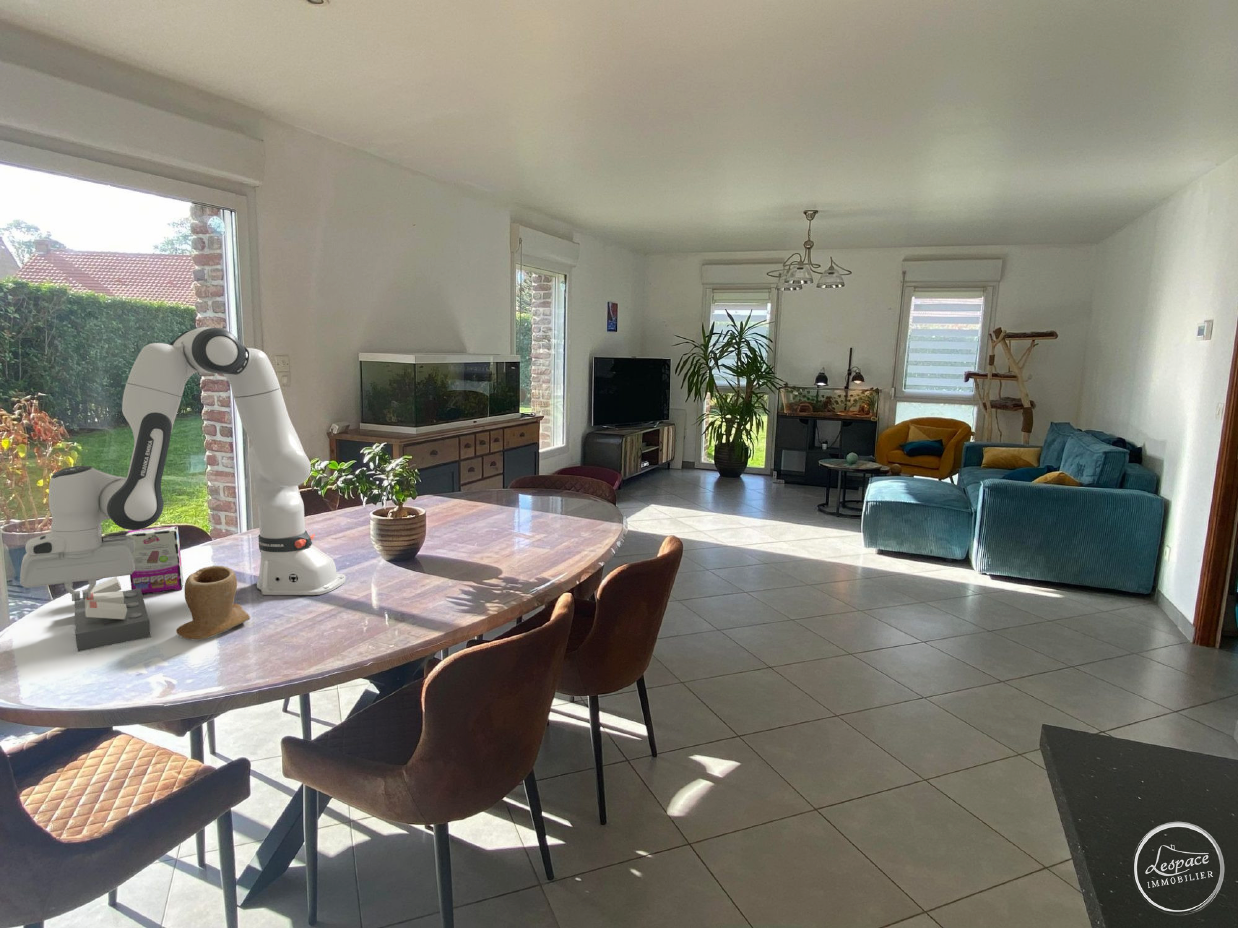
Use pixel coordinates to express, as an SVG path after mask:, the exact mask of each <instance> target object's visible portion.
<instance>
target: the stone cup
mask: <svg viewBox="0 0 1238 928" xmlns="http://www.w3.org/2000/svg"><path fill="white" fill-rule="evenodd" d="M237 587H238V581H237V576H236V572H234V570H233V569H232V568H230V567H228V566H224V565H211V566H205V567H202V568H199V569H198V570H196V571H195V572H193V573H191V574H190V575H188V577H187V578H186V580H185V582H184V599H185V603H186V605H187V608H188V610H189V611H190V614H191V618H192V619H191V620H190V621H188V622H186V623H184V624H182V625H180V626H178V627H177V628H176V630H175V632H176V634H177V635H178V636H179V637H181V638H183V639H187V640H195V641H196V640H199V641H201V640H205V639H208V638H209V639H210V638H211V637H215V636H217V635H220V634H222V633H225V632H226V631H229V630H230V629H233V628H234V627H237V626H239V625H240V624H243V623H245V622H247V621H249V620H250V619H251V616H250V614H249V613H247V611H245V609H243V607H242V605H240V604H238V603H234V601H235V597H236V594H237V593H236V592H237V589H238V588H237Z"/></svg>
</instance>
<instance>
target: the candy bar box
mask: <svg viewBox="0 0 1238 928" xmlns="http://www.w3.org/2000/svg"><path fill="white" fill-rule="evenodd" d="M125 535H126V537H131V538H132V539H133V540H134V541H135V550H134V552H133V553H132V556H133V560H134V567H135V571H134V572H133V573H132V574H131V575H129V578H130V579H129V580H130V588H131V589H130V590H133V589H139V588H141V592H142V595H143V596H144V595H151V594H157V593H160V594H161V593H167V592H174V591H181V590H183V586H184V585H185V582H184V575H183V573H184V572H183V565H182V556H181V555H182V554H181V549H180V548H181V546H180V537H179V528H178V526H177V525H174V526H166V527H165V526H163V527H154V528H143V529H140V530H128V531H127V533H126V534H125ZM127 539H128V538H127ZM127 539H126V540H127Z"/></svg>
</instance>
